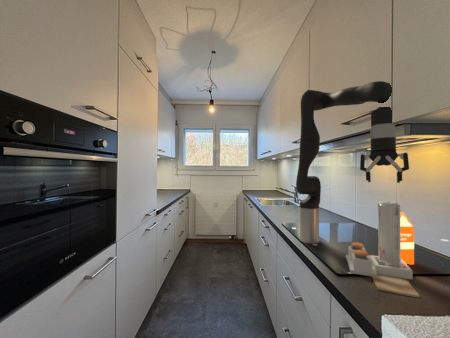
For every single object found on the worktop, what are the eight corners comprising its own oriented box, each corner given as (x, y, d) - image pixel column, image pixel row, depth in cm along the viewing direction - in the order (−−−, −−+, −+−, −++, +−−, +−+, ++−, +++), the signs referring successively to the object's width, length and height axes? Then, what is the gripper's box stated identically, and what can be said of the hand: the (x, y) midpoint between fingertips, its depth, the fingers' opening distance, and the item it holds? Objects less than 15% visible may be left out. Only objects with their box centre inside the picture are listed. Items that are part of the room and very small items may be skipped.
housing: (345, 257, 92) (345, 244, 92) (399, 264, 85) (399, 250, 85) (350, 273, 79) (350, 258, 79) (415, 283, 71) (415, 267, 71)
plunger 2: (353, 262, 83) (353, 249, 83) (366, 264, 81) (366, 250, 81) (355, 267, 79) (355, 253, 79) (369, 269, 77) (369, 254, 77)
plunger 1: (350, 253, 91) (350, 241, 91) (362, 255, 89) (362, 242, 89) (351, 257, 87) (351, 244, 87) (364, 259, 85) (364, 246, 85)
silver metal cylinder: (379, 272, 79) (379, 202, 79) (377, 265, 85) (376, 200, 85) (402, 276, 76) (402, 203, 76) (398, 268, 82) (398, 201, 82)
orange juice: (396, 255, 94) (395, 208, 94) (414, 264, 85) (414, 212, 85) (378, 255, 94) (377, 208, 94) (394, 264, 85) (394, 213, 85)
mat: (370, 275, 77) (370, 273, 77) (406, 281, 73) (406, 279, 73) (378, 290, 67) (378, 288, 67) (419, 297, 64) (419, 295, 64)
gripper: (359, 138, 81) (359, 182, 81) (409, 134, 73) (410, 183, 73) (360, 140, 87) (361, 181, 87) (407, 137, 79) (408, 182, 79)
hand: (383, 182), depth 80 cm, fingers open, 8 cm apart
